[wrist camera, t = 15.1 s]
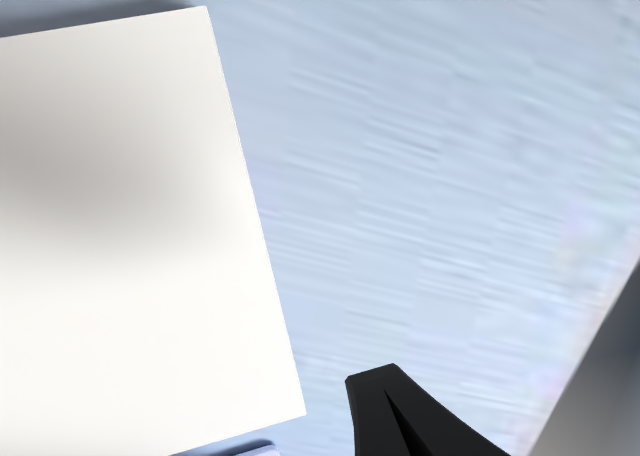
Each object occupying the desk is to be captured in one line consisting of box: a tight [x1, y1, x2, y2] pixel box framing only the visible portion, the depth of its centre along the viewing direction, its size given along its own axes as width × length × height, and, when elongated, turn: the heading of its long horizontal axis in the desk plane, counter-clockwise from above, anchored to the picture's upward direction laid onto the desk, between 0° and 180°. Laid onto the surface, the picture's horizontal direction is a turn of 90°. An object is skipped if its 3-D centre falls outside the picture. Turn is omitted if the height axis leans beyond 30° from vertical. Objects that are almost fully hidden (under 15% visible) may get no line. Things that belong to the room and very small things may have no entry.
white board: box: [0, 5, 307, 456], centre depth 16 cm, size 18×16×2 cm
